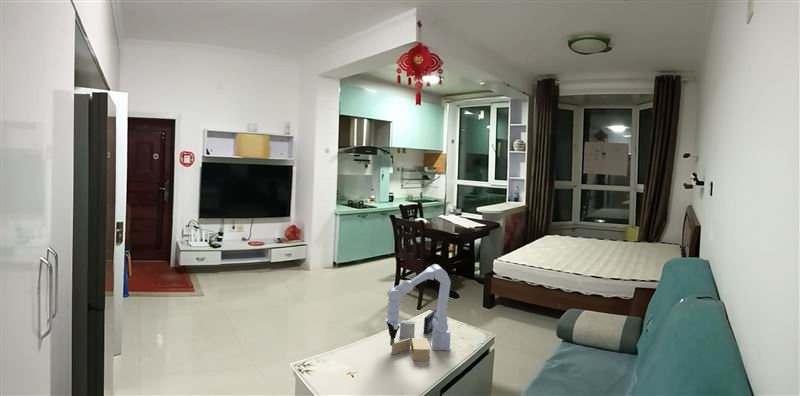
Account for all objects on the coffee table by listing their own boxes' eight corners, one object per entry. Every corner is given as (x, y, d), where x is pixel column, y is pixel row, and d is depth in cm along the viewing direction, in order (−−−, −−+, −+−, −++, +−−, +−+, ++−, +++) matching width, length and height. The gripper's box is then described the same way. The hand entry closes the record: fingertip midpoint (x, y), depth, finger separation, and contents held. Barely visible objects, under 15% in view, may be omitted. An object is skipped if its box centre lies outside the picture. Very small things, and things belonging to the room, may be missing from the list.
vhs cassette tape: (427, 335, 226) (428, 318, 224) (422, 333, 227) (423, 316, 226) (441, 324, 241) (442, 308, 240) (437, 323, 242) (438, 307, 241)
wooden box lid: (410, 348, 208) (410, 330, 207) (392, 354, 201) (393, 336, 200) (403, 344, 212) (404, 327, 211) (386, 350, 205) (387, 332, 204)
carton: (426, 349, 209) (426, 338, 208) (429, 360, 197) (429, 349, 196) (411, 348, 208) (411, 338, 208) (413, 360, 196) (413, 349, 196)
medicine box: (414, 335, 224) (415, 321, 223) (413, 339, 219) (414, 324, 218) (400, 334, 225) (401, 319, 224) (399, 338, 220) (400, 323, 219)
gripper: (383, 306, 210) (382, 331, 212) (388, 317, 196) (387, 343, 198) (396, 306, 212) (394, 330, 214) (402, 316, 198) (401, 343, 200)
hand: (392, 336), depth 206 cm, fingers open, 3 cm apart
